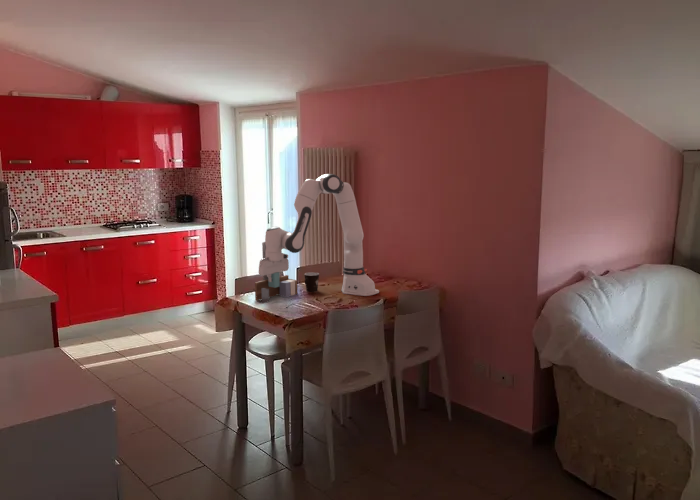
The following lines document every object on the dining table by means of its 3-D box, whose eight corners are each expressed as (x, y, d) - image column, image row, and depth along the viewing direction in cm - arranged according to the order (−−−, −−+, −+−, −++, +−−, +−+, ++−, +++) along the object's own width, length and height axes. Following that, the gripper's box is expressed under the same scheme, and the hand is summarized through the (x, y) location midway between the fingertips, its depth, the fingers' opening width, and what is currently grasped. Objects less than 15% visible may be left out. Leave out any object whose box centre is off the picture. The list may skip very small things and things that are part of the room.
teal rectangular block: (279, 286, 329) (279, 272, 328) (274, 287, 326) (274, 273, 325) (273, 285, 332) (272, 271, 331) (268, 286, 329) (268, 272, 328)
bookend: (269, 301, 323) (268, 289, 322) (262, 303, 320) (262, 290, 319) (262, 300, 326) (262, 287, 325) (256, 301, 323) (256, 289, 322)
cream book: (295, 294, 340) (295, 280, 338) (291, 295, 337) (290, 281, 336) (289, 293, 343) (288, 279, 341) (284, 294, 340) (284, 280, 339)
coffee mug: (313, 288, 355) (313, 271, 353) (322, 290, 348) (322, 274, 347) (297, 291, 348) (297, 274, 346) (305, 293, 341) (305, 276, 339)
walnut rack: (297, 293, 341) (297, 276, 339) (266, 302, 322) (265, 284, 320) (286, 291, 346) (286, 274, 345) (255, 300, 327) (254, 282, 325)
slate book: (290, 295, 337) (290, 282, 335) (286, 297, 334) (285, 283, 332) (284, 294, 340) (283, 280, 338) (279, 295, 337) (279, 282, 335)
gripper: (263, 259, 316) (264, 285, 319) (290, 254, 332) (290, 278, 334) (255, 258, 320) (256, 283, 322) (282, 253, 336) (282, 277, 338)
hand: (273, 281), depth 329 cm, fingers closed on teal rectangular block, 4 cm apart
